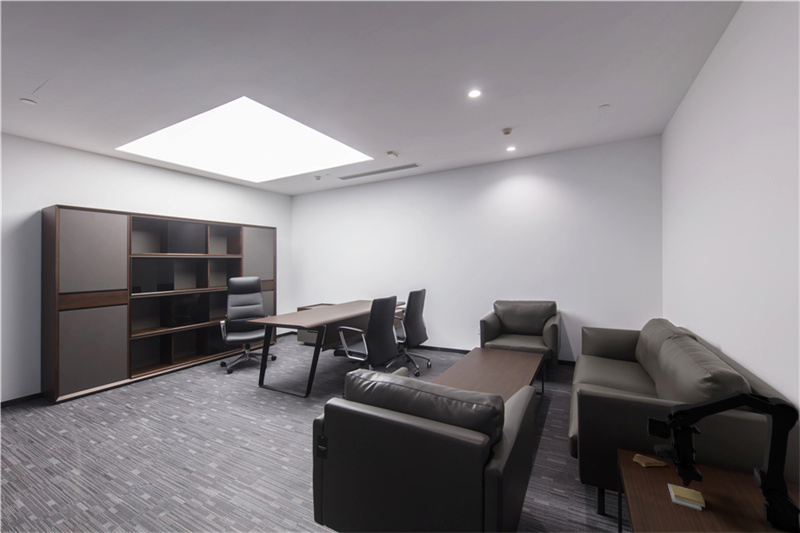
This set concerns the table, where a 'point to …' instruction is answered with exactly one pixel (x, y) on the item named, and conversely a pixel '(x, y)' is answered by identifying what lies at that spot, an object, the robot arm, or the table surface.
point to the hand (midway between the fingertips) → (685, 485)
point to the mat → (683, 501)
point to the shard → (647, 461)
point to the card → (687, 495)
